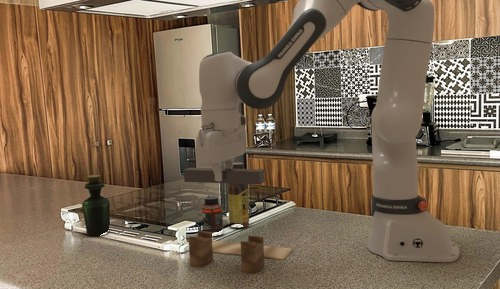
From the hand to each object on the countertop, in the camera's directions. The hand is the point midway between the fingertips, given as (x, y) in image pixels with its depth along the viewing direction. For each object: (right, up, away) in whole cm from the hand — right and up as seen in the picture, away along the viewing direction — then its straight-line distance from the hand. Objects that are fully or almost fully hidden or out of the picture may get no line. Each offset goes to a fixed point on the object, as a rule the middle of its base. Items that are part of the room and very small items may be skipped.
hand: (223, 178), depth 122 cm
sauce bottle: (+3, -17, +36) cm, 40 cm away
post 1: (-6, -21, +5) cm, 23 cm away
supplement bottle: (-5, -19, +29) cm, 34 cm away
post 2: (+7, -22, 0) cm, 23 cm away
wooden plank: (+5, -20, +13) cm, 24 cm away
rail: (0, -1, 0) cm, 1 cm away
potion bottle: (-40, -19, +34) cm, 56 cm away
